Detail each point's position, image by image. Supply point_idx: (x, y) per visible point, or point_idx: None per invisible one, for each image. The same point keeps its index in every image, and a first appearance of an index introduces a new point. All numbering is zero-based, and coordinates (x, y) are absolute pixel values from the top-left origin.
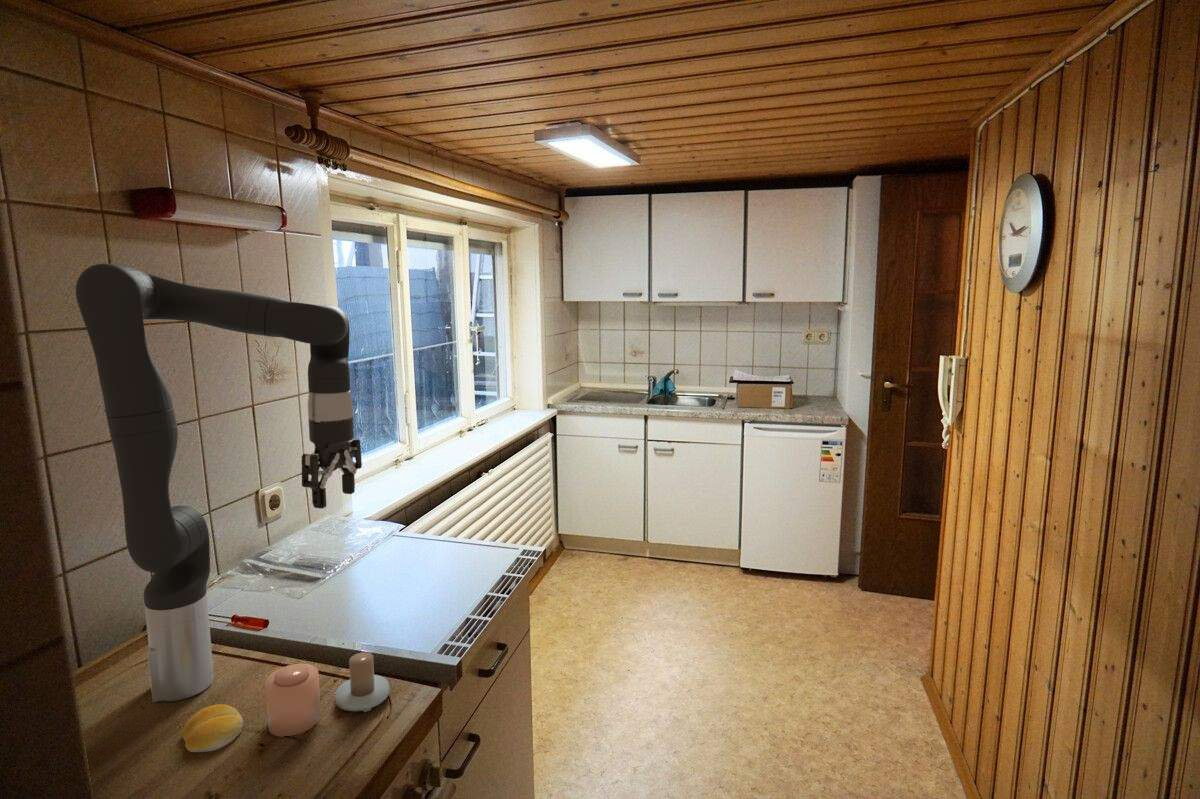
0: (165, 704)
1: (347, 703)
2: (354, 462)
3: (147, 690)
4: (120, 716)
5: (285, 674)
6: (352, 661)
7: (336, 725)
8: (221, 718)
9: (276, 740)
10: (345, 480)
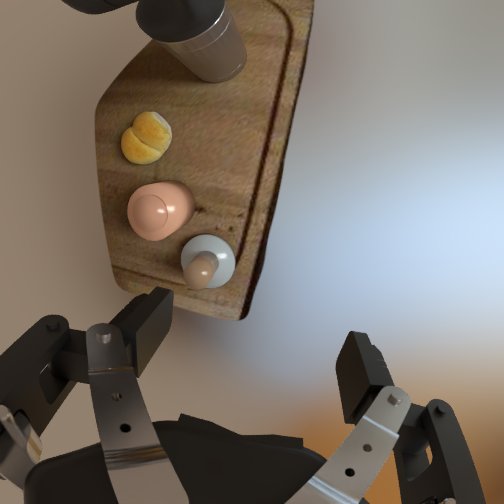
0: None
1: (183, 255)
2: (422, 445)
3: None
4: None
5: (145, 208)
6: (189, 268)
7: (171, 247)
8: (137, 149)
9: None
10: (357, 379)
